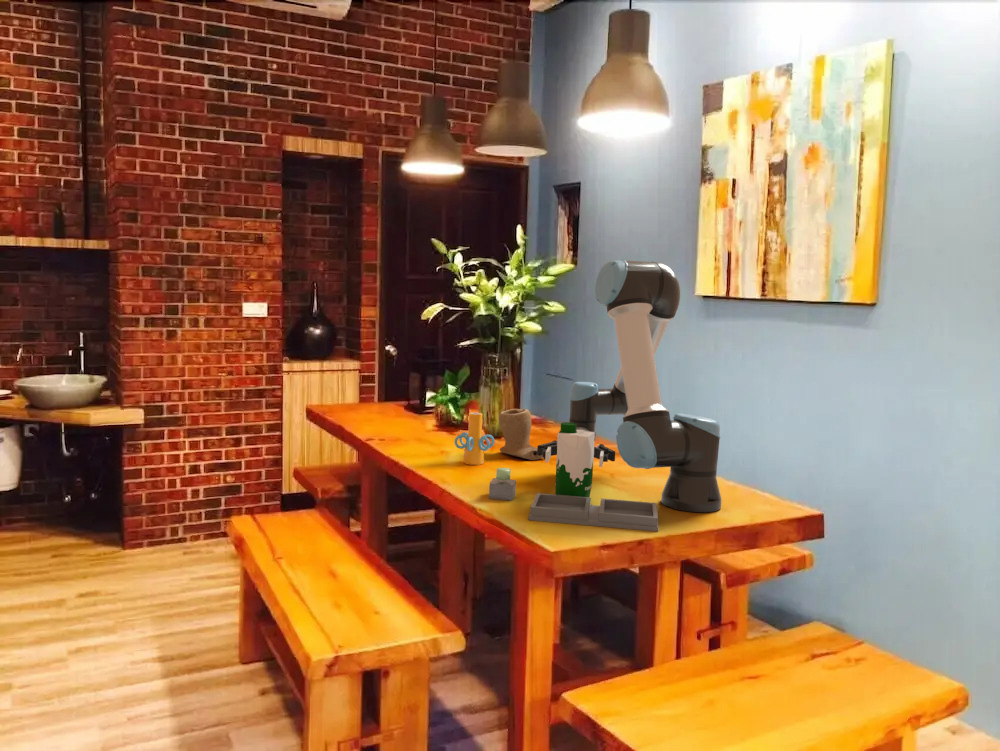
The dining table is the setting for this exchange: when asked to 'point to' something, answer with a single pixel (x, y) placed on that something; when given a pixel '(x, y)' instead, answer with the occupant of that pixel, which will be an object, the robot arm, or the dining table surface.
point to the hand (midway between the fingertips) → (573, 459)
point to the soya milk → (574, 461)
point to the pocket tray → (594, 512)
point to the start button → (503, 474)
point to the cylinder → (474, 441)
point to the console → (502, 489)
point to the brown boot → (517, 434)
